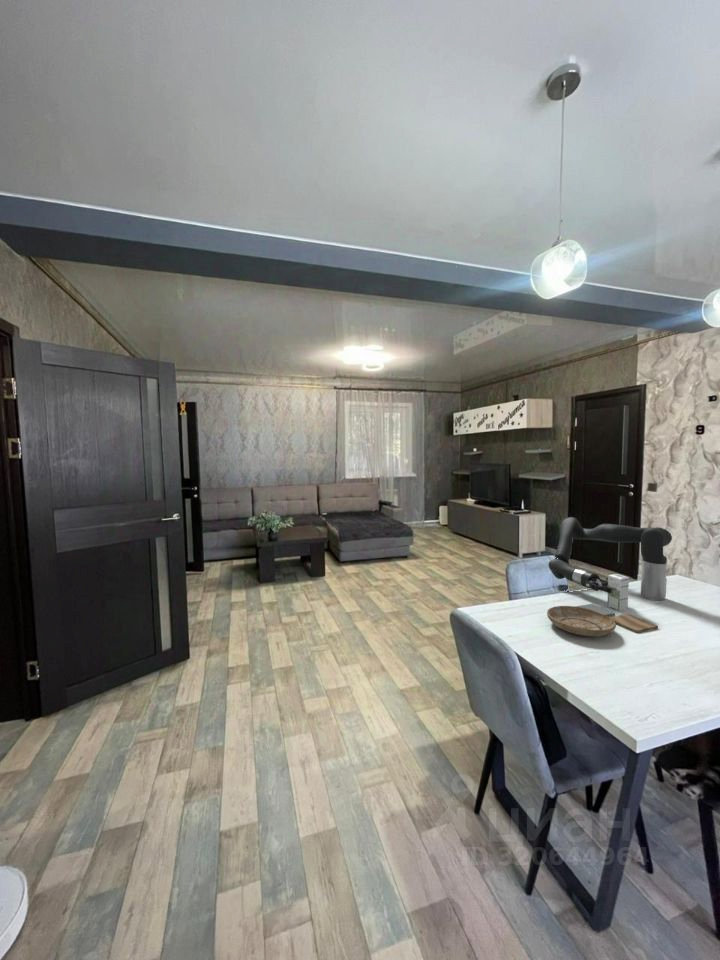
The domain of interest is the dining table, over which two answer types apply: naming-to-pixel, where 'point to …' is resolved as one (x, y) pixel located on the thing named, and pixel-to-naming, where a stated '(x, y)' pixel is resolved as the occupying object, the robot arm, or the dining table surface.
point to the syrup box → (618, 592)
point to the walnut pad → (633, 623)
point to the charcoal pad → (597, 609)
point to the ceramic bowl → (581, 620)
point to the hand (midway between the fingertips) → (617, 589)
